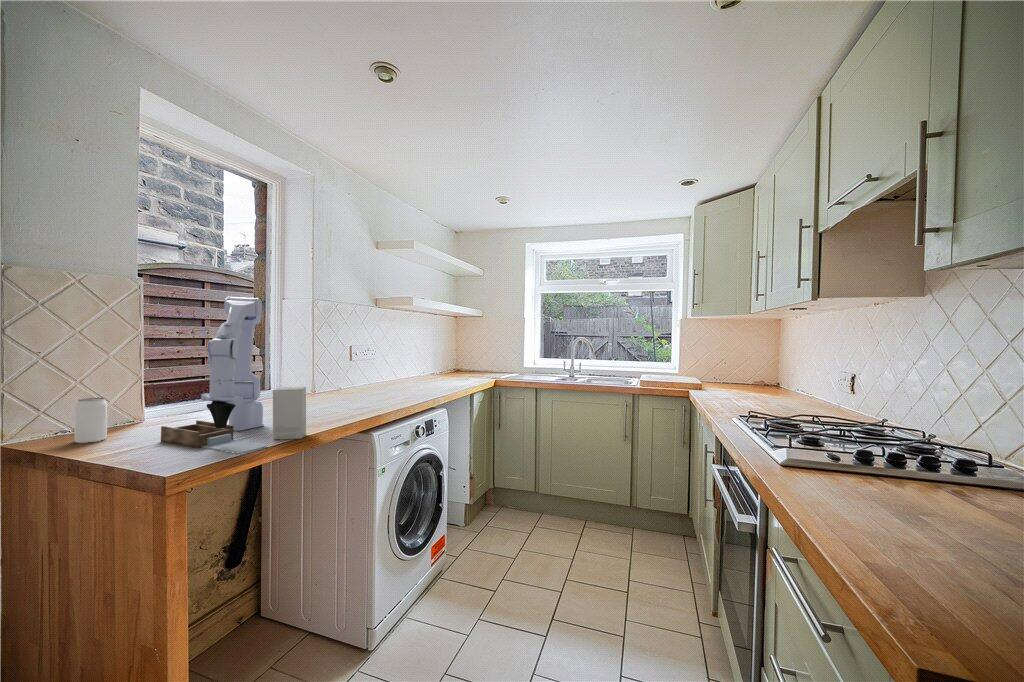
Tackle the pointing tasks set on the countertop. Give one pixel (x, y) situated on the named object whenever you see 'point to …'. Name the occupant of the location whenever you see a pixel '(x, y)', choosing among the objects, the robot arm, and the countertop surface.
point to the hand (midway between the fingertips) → (220, 427)
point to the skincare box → (289, 412)
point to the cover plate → (231, 444)
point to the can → (90, 420)
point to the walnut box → (193, 433)
